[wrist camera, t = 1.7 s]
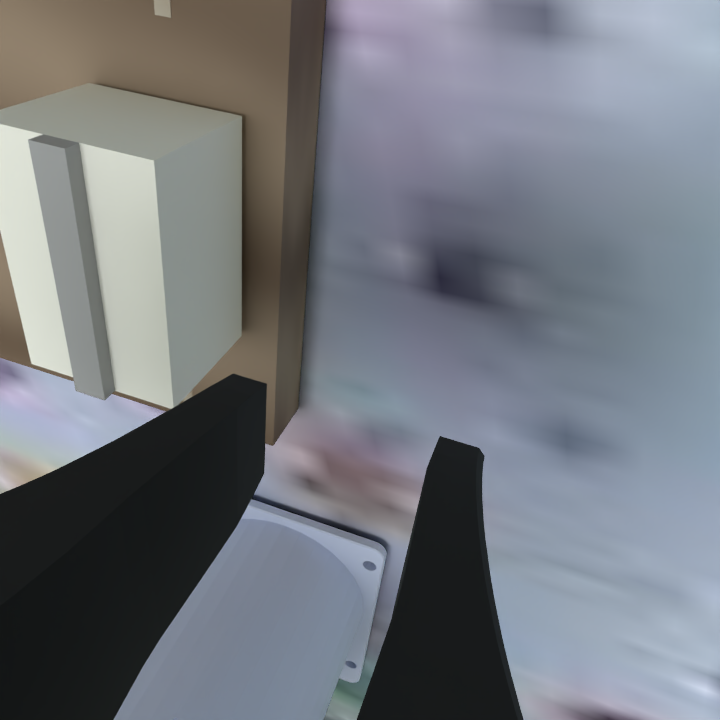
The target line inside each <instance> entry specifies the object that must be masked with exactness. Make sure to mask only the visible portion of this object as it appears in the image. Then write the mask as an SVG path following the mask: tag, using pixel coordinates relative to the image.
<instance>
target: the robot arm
mask: <svg viewBox="0 0 720 720" xmlns="http://www.w3.org/2000/svg"><path fill="white" fill-rule="evenodd" d="M266 399H267V384H266V383H263V382H260V381H256V380H253V379H250V378H247V377H243V376H240V375H237V374H231V375H229V376H228V377H226V378H224V379H222V380H220V381H219V382H217V383H215V384H213V385H212V386H210V387H208V388H206V389H205V390H203V391H201V392H199V393H198V394H196V395H194V396H192V397H191V398H189V399H187V400H186V401H184V402H182V403H180V404H179V405H177V406H175V407H174V408H172V409H170V410H168V411H167V412H165V413H163V414H161V415H160V416H158V417H156V418H154V419H152V420H151V421H149V422H147V423H145V424H143V425H142V426H140V427H138V428H136V429H134V430H133V431H131V432H129V433H127V434H125V435H124V436H122V437H120V438H118V439H116V440H114V441H113V442H111V443H109V444H107V445H105V446H103V447H101V448H99V449H97V450H95V451H93V452H91V453H89V454H87V455H85V456H83V457H81V458H79V459H77V460H75V461H73V462H71V463H69V464H67V465H65V466H63V467H61V468H59V469H57V470H55V471H52V472H50V473H48V474H46V475H44V476H42V477H39V478H37V479H35V480H32V481H30V482H28V483H26V484H23V485H21V486H19V487H16V488H14V489H11V490H9V491H6V492H4V493H2V494H0V720H324V717H325V714H326V712H327V709H328V706H329V704H330V701H331V698H332V696H333V693H334V690H335V688H336V685H337V682H338V680H339V678H340V679H342V680H345V681H347V682H351V683H356V682H358V681H359V680H360V677H361V674H362V670H363V665H364V660H365V655H366V651H367V646H368V641H369V636H370V632H371V627H372V622H373V617H374V613H375V608H376V603H377V598H378V594H379V589H380V584H381V579H382V575H383V570H384V565H385V560H386V556H387V553H386V550H385V548H384V547H383V546H382V545H381V544H379V543H377V542H375V541H372V540H369V539H366V538H363V537H360V536H357V535H355V534H352V533H349V532H346V531H343V530H340V529H337V528H334V527H331V526H328V525H325V524H323V523H320V522H317V521H314V520H311V519H308V518H305V517H302V516H299V515H296V514H293V513H291V512H288V511H285V510H282V509H279V508H276V507H273V506H270V505H267V504H264V503H261V502H259V501H256V500H253V499H252V497H253V495H254V493H255V491H256V489H257V487H258V485H259V483H260V481H261V479H262V477H263V475H264V463H265V431H266ZM483 461H484V455H483V453H482V452H481V450H480V449H479V448H477V447H474V446H471V445H467V444H464V443H461V442H457V441H454V440H451V439H447V438H444V437H441V436H440V437H439V440H438V442H437V445H436V447H435V449H434V452H433V454H432V457H431V459H430V462H429V465H428V467H427V471H426V475H425V479H424V483H423V487H422V492H421V496H420V500H419V504H418V508H417V513H416V517H415V521H414V525H413V529H412V534H411V538H410V542H409V546H408V550H407V554H406V559H405V563H404V567H403V571H402V575H401V580H400V584H399V588H398V593H397V597H396V602H395V606H394V611H393V615H392V620H391V623H390V626H389V628H388V631H387V634H386V637H385V640H384V643H383V646H382V649H381V652H380V655H379V657H378V660H377V663H376V666H375V669H374V672H373V675H372V678H371V681H370V683H369V686H368V689H367V692H366V695H365V698H364V700H363V703H362V706H361V709H360V712H359V715H358V718H357V720H523V716H522V713H521V710H520V706H519V702H518V699H517V695H516V691H515V688H514V684H513V680H512V677H511V673H510V669H509V665H508V661H507V656H506V652H505V648H504V643H503V639H502V635H501V630H500V625H499V620H498V615H497V610H496V605H495V600H494V595H493V589H492V583H491V577H490V570H489V563H488V555H487V548H486V541H485V531H484V521H483V504H482V472H483Z"/></svg>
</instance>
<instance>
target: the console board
mask: <svg viewBox="0 0 720 720" xmlns="http://www.w3.org/2000/svg"><path fill="white" fill-rule="evenodd" d="M325 9H326V0H0V110H1V109H4V108H7V107H11V106H14V105H17V104H21V103H24V102H27V101H31V100H34V99H37V98H41V97H44V96H47V95H51V94H54V93H57V92H61V91H64V90H67V89H71V88H74V87H77V86H81V85H84V84H87V83H92V84H97V85H101V86H106V87H111V88H115V89H120V90H124V91H129V92H134V93H138V94H143V95H148V96H152V97H157V98H161V99H166V100H171V101H175V102H180V103H185V104H189V105H194V106H198V107H203V108H208V109H212V110H217V111H222V112H226V113H231V114H235V115H240V116H242V336H241V337H240V338H239V339H238V340H237V341H236V343H235V344H234V345H233V346H232V347H231V348H230V349H229V350H228V351H227V352H226V353H225V354H224V356H223V357H222V358H221V359H220V360H219V361H218V362H217V363H216V364H215V365H214V366H213V368H212V369H211V370H210V371H209V372H208V373H207V374H206V375H205V376H204V377H203V378H202V379H201V381H200V382H199V383H198V384H197V385H196V386H195V387H194V388H193V389H192V390H191V391H190V393H189V394H188V395H187V396H186V397H185V398H184V399H183V400H182V401H181V402H180V403H182V402H184V401H186V400H187V399H189V398H191V397H192V396H194V395H196V394H198V393H199V392H201V391H203V390H205V389H206V388H208V387H210V386H212V385H213V384H215V383H217V382H219V381H220V380H222V379H224V378H226V377H228V376H229V375H231V374H237V375H240V376H243V377H247V378H250V379H253V380H256V381H260V382H263V383H266V384H267V399H266V431H265V443H266V444H269V445H272V446H273V445H274V444H275V442H276V441H277V439H278V438H279V436H280V435H281V433H282V432H283V430H284V429H285V427H286V426H287V424H288V423H289V421H290V420H291V418H292V417H293V415H294V414H295V412H296V411H297V409H298V402H299V388H300V373H301V359H302V344H303V329H304V315H305V300H306V286H307V271H308V257H309V242H310V228H311V213H312V198H313V184H314V169H315V155H316V140H317V126H318V111H319V97H320V82H321V68H322V53H323V38H324V24H325ZM0 358H3V359H6V360H9V361H12V362H15V363H19V364H22V365H25V366H28V367H31V368H34V369H37V370H40V371H43V372H46V373H49V374H53V375H56V376H59V377H62V378H65V379H68V380H71V381H74V379H73V377H71V376H67V375H64V374H61V373H58V372H55V371H52V370H49V369H46V368H43V367H40V366H36V365H33V364H31V360H30V355H29V351H28V347H27V343H26V338H25V334H24V330H23V326H22V321H21V317H20V313H19V309H18V304H17V300H16V296H15V292H14V287H13V283H12V279H11V275H10V270H9V266H8V262H7V258H6V253H5V249H4V245H3V241H2V236H1V232H0ZM112 394H114V395H117V396H121V397H124V398H127V399H130V400H133V401H136V402H139V403H142V404H145V405H148V406H151V407H155V408H158V409H161V410H164V411H168V410H170V408H167V407H164V406H161V405H157V404H154V403H151V402H148V401H145V400H142V399H139V398H136V397H133V396H130V395H126V394H123V393H120V392H117V391H114V392H113V393H112ZM180 403H179V404H180ZM179 404H178V405H179Z"/></svg>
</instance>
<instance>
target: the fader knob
mask: <svg viewBox="0 0 720 720" xmlns="http://www.w3.org/2000/svg"><path fill="white" fill-rule="evenodd" d="M0 232H1V236H2V241H3V245H4V249H5V253H6V258H7V262H8V266H9V270H10V275H11V279H12V283H13V287H14V292H15V296H16V300H17V304H18V309H19V313H20V317H21V321H22V326H23V330H24V334H25V338H26V343H27V347H28V351H29V355H30V360H31V364H33V365H36V366H40V367H43V368H46V369H49V370H52V371H55V372H58V373H61V374H64V375H67V376H71V377H73V379H74V384H75V389H76V391H77V392H80V393H84V394H87V395H90V396H93V397H96V398H99V399H102V400H106V399H107V398H108V397H109V396H110V395H111V394H112V393H113V392H114V391H117V392H120V393H123V394H126V395H130V396H133V397H136V398H139V399H142V400H145V401H148V402H151V403H154V404H157V405H161V406H164V407H167V408H170V409H172V408H174V407H175V406H177V405H178V404H179V403H180V402H181V401H182V400H183V399H184V398H185V397H186V396H187V395H188V394H189V393H190V391H191V390H192V389H193V388H194V387H195V386H196V385H197V384H198V383H199V382H200V381H201V379H202V378H203V377H204V376H205V375H206V374H207V373H208V372H209V371H210V370H211V369H212V368H213V366H214V365H215V364H216V363H217V362H218V361H219V360H220V359H221V358H222V357H223V356H224V354H225V353H226V352H227V351H228V350H229V349H230V348H231V347H232V346H233V345H234V344H235V343H236V341H237V340H238V339H239V338H240V337H241V336H242V116H240V115H235V114H231V113H226V112H222V111H217V110H212V109H208V108H203V107H198V106H194V105H189V104H185V103H180V102H175V101H171V100H166V99H161V98H157V97H152V96H148V95H143V94H138V93H134V92H129V91H124V90H120V89H115V88H111V87H106V86H101V85H97V84H92V83H87V84H84V85H81V86H77V87H74V88H71V89H67V90H64V91H61V92H57V93H54V94H51V95H47V96H44V97H41V98H37V99H34V100H31V101H27V102H24V103H21V104H17V105H14V106H11V107H7V108H4V109H1V110H0Z"/></svg>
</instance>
